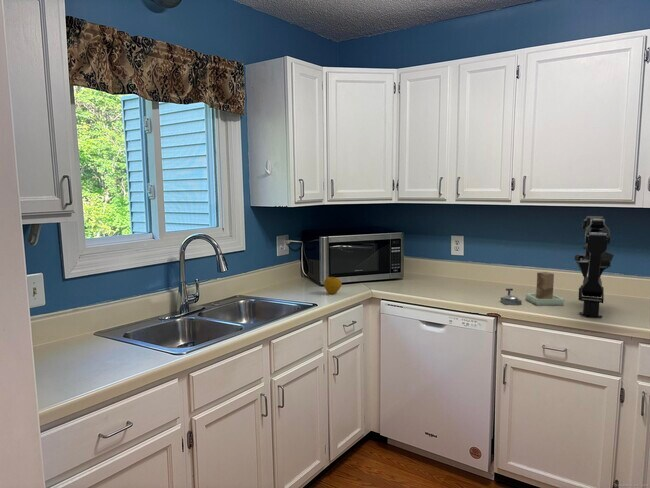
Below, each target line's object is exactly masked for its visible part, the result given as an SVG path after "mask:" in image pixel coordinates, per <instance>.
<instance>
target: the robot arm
mask: <svg viewBox="0 0 650 488" xmlns="http://www.w3.org/2000/svg"><path fill="white" fill-rule="evenodd" d="M582 230H583V231H585V232H584V233H585V234H584V243H585V245H584V246H583V247H582V249H584V250H585V251H584V254H581V253H578V254H575V256H574V261H575V262H576V265H577V266H578V267H579V270H580V272H581V274H582V277H583V280H582V285H581V284H580V286H579V287H578V299H577V300H578V301H580V302H583V304H582V312H581V311H579V313H578V314H579V315H582V316H584V317H586V318H603V315H601V314H600V313H599V312H600V303H601V304H604V301H605V300H604V298H605V296H604V295H605V293H604V286H603V282H602V279H601V276H602V274H603V272H604V271H605V270H606V269H609V268H611V267H612V261H613V259H614V257H615V255H614V254H612V253H610V252H607V250H608V245H610V244H611V243H610V241H611V230H610V228H609V227H608V226H607V225H606V219H605V218H604V216H599V215H595V216H594V215H587V216H586V218H584V219H583V221H582Z"/></svg>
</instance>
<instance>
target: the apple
mask: <svg viewBox="0 0 650 488" xmlns="http://www.w3.org/2000/svg"><path fill="white" fill-rule="evenodd" d="M323 287H324V289H325V291H326V292H327V293H328V295H335V294H337V293H338V292H339V291H340V289H341V287H342V281H341V279H340V278H339V277H336V276H329V277H326V278H325V279H324V280H323Z"/></svg>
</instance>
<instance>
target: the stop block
mask: <svg viewBox="0 0 650 488" xmlns="http://www.w3.org/2000/svg"><path fill="white" fill-rule="evenodd" d="M536 273H537V274H536V292H535V293H536V298H537V299H553V294H554V278H555V273H553V272H548V271H540V272H536Z"/></svg>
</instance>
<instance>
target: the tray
mask: <svg viewBox="0 0 650 488" xmlns="http://www.w3.org/2000/svg"><path fill="white" fill-rule="evenodd" d="M525 300H526V301H527V302H530V303H532V304H533V305H535V306H537V307H540V306H543V307H549V306H550V307H551V306H552V307H553V306H554V307H557V306H559V307H561V306H562V307H564V303H565V298H562V297H560V296H558V295H556V294H554V293H553V299H537V298H536V292H535V293H528V292H527V293H525Z"/></svg>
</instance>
